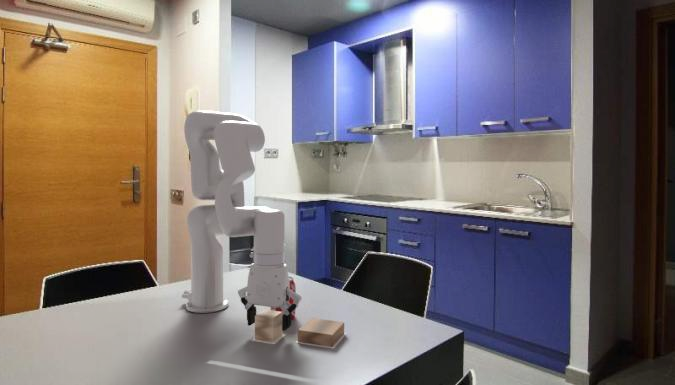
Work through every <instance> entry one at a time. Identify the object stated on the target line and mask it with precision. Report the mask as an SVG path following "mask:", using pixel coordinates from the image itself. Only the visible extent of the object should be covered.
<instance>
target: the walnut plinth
mask: <svg viewBox="0 0 675 385" xmlns="http://www.w3.org/2000/svg"><path fill="white" fill-rule="evenodd" d="M344 333H345V322H344V321H337V320H331V319H330V320H329V319H322V318H315V317H311V318H310V319H309V320H307V322H305V324H303V325H302V326H300V328H299V329H298V330H297V340H298V342H302V343H308V344H315V345H321V346H327V347H333V346H334V345H335V344H336V343H337V341H338V340H339V339H340V338H341V337H342V336H343V334H344Z"/></svg>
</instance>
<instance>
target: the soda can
mask: <svg viewBox="0 0 675 385" xmlns="http://www.w3.org/2000/svg"><path fill="white" fill-rule="evenodd" d="M289 284H290V289H291V290H292V291H294V292H295V293H297V292H296V283H295V281H294V277H292V276H289ZM293 301H294V300H293V299H292V298H290V299H289V303H290V304H291V305H292V304H293ZM270 310H272V311H280V312H282V315H283V314H284V312H283V311H282V309H281V308H280V307H278V308H275V307H270ZM295 317H296V309H295V310H294V311H293V312H292V313H291V321H293V320H294V319H295Z"/></svg>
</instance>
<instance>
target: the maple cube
mask: <svg viewBox="0 0 675 385" xmlns="http://www.w3.org/2000/svg"><path fill="white" fill-rule="evenodd" d="M282 334H283V330H282V312H280V311H272V310H271V309H263V310H262V311H260V312H258V313H256V315H255V323H254V338H255V340H261V341H267V342H274V341H275V340H276V339H278V338H279V337H280V336H281V335H282Z"/></svg>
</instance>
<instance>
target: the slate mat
mask: <svg viewBox="0 0 675 385" xmlns="http://www.w3.org/2000/svg"><path fill="white" fill-rule="evenodd" d="M286 335H287V334H286V333H282V335H281V336H280V337H279V338H278V339H276V340H275V341H274V342H267V341H261V340H255V337H253V338H252V339H250V341H252V342H258V343H265V344H269V345H275V344H277V343H278V342H279V341H280V340H282V339H283V338H284V337H285V336H286ZM346 335H347V333H346V332H344V334H343V336H342V337H341V338H340V339H339V340H338V341H337V343H336V344H335V345H334V346H333V347H327V346H321V345H315V344H308V343H302V342H298V339H297V340H296V341H295V343H296V344H303V345H308V346H315V347H321V348H326V349H328V348H329V349H332V350H333V349H335V348H336V347H337V345H338V344H339V343H340V342H341V341H342V339H344V337H345V336H346Z"/></svg>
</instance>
